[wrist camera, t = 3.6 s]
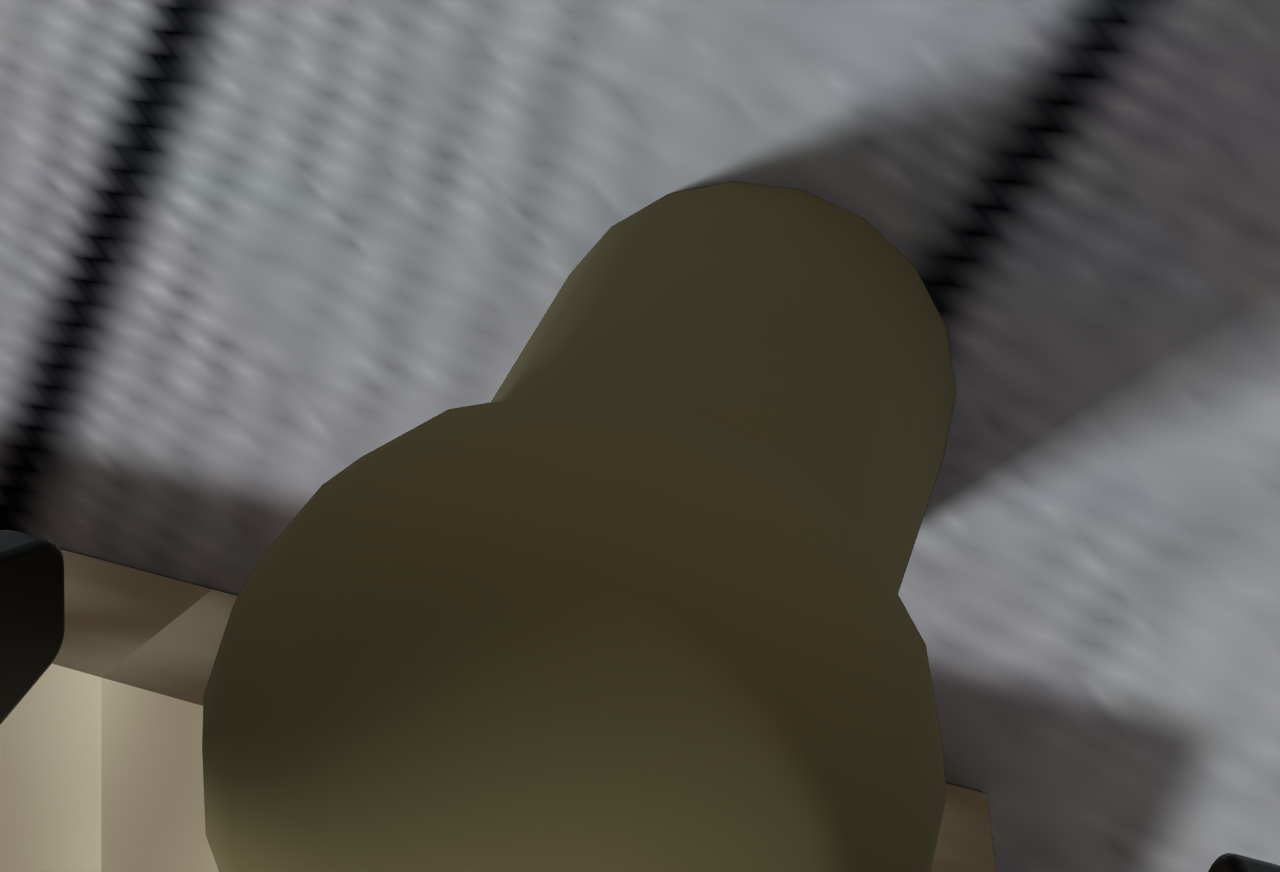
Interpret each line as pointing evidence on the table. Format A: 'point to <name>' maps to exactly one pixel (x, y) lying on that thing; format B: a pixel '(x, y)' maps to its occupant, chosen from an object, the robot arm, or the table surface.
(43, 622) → the robot arm
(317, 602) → the olive knobbed peg
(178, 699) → the block
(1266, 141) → the table surface
